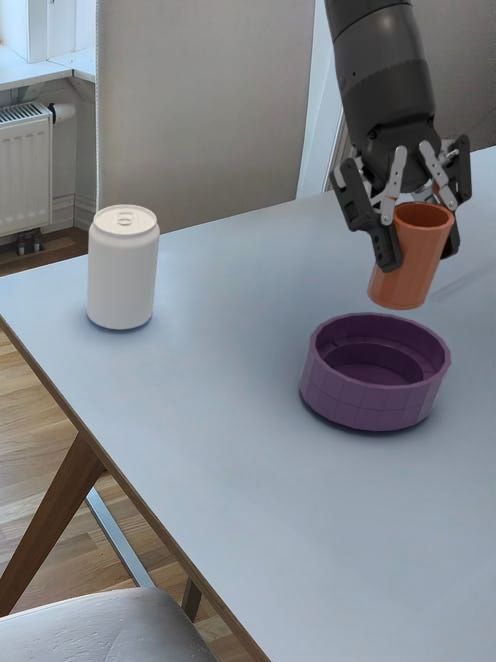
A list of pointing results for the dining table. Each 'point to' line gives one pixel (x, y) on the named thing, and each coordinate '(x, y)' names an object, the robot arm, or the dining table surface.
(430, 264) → the cup
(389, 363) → the bowl
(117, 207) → the beverage can
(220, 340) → the dining table surface
